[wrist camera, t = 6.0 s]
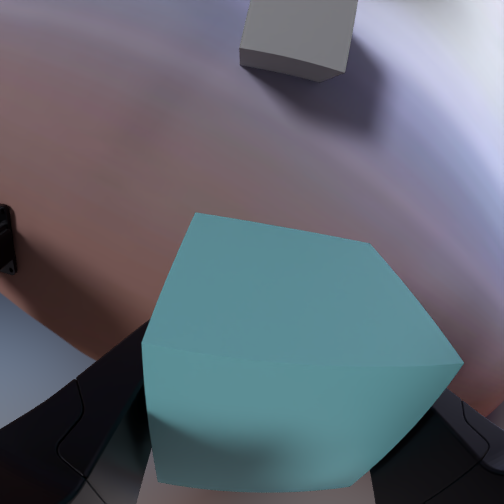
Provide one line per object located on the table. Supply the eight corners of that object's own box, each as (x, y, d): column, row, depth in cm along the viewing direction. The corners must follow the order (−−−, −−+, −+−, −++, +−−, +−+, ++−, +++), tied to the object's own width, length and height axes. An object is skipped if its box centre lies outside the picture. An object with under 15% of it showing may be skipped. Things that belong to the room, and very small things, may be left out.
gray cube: (239, 65, 16) (239, 47, 11) (255, -2, 14) (259, -35, 9) (319, 82, 16) (344, 72, 12) (332, 17, 14) (359, -9, 10)
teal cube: (181, 351, 10) (157, 482, 5) (195, 212, 8) (141, 342, 3) (319, 366, 10) (349, 486, 6) (369, 243, 8) (464, 363, 4)
